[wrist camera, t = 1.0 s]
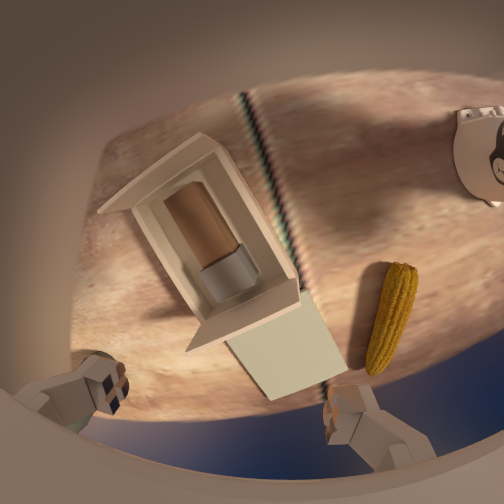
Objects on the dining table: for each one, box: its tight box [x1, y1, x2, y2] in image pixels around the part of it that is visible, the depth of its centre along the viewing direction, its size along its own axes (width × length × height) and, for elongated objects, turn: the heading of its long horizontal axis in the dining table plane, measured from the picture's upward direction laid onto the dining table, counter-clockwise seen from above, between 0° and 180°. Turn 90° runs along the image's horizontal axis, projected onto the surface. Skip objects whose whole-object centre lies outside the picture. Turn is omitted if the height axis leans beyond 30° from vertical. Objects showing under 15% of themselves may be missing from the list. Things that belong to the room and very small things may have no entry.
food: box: [365, 262, 418, 376], centre depth 40 cm, size 21×6×6 cm, turn 177°
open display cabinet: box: [97, 131, 302, 356], centre depth 36 cm, size 16×22×13 cm
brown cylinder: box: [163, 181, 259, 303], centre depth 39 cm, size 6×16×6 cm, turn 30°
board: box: [226, 288, 348, 400], centre depth 45 cm, size 16×18×1 cm
